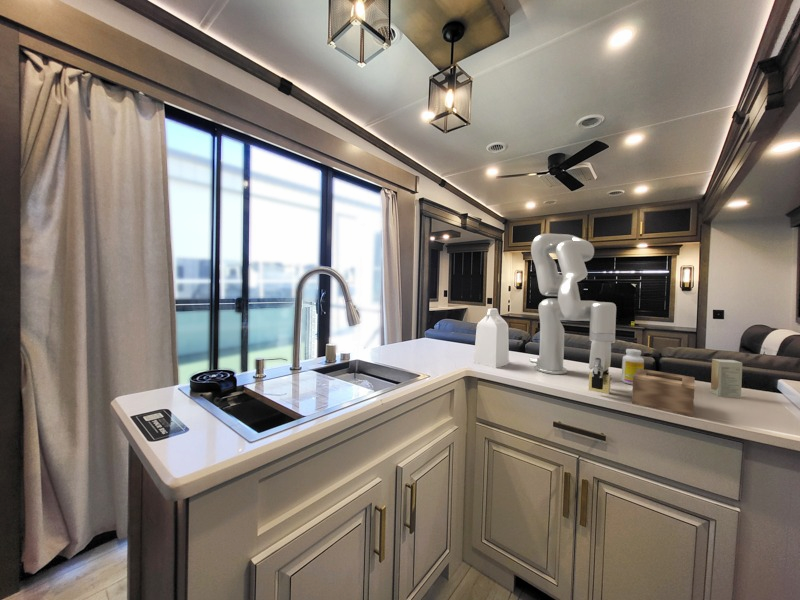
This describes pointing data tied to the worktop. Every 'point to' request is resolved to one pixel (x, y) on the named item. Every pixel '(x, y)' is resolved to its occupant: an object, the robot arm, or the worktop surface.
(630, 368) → the supplement bottle
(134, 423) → the worktop surface
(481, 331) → the milk
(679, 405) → the box
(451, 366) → the worktop surface
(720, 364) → the skincare box
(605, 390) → the token
